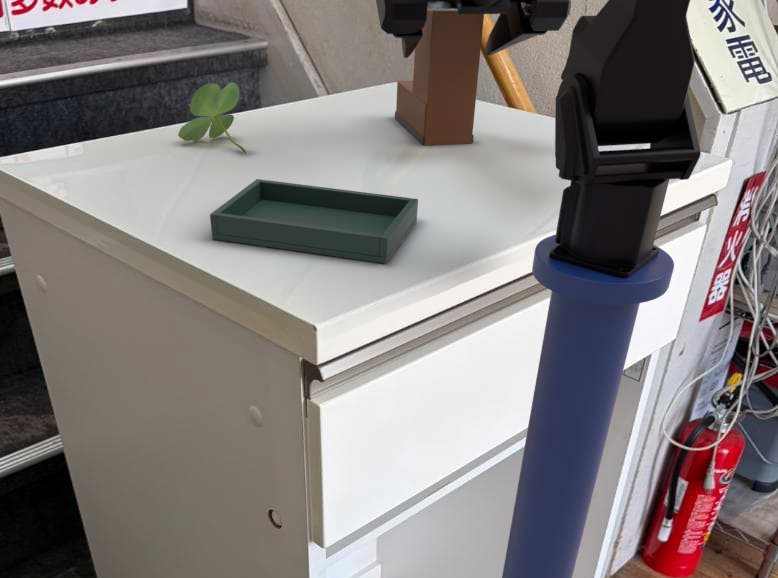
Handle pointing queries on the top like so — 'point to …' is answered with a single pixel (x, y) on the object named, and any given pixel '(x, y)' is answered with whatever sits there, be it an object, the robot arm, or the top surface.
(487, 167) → the top surface
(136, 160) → the top surface
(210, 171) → the top surface
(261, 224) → the tray
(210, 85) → the green leafy piece
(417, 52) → the boot
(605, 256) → the robot arm
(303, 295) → the top surface
